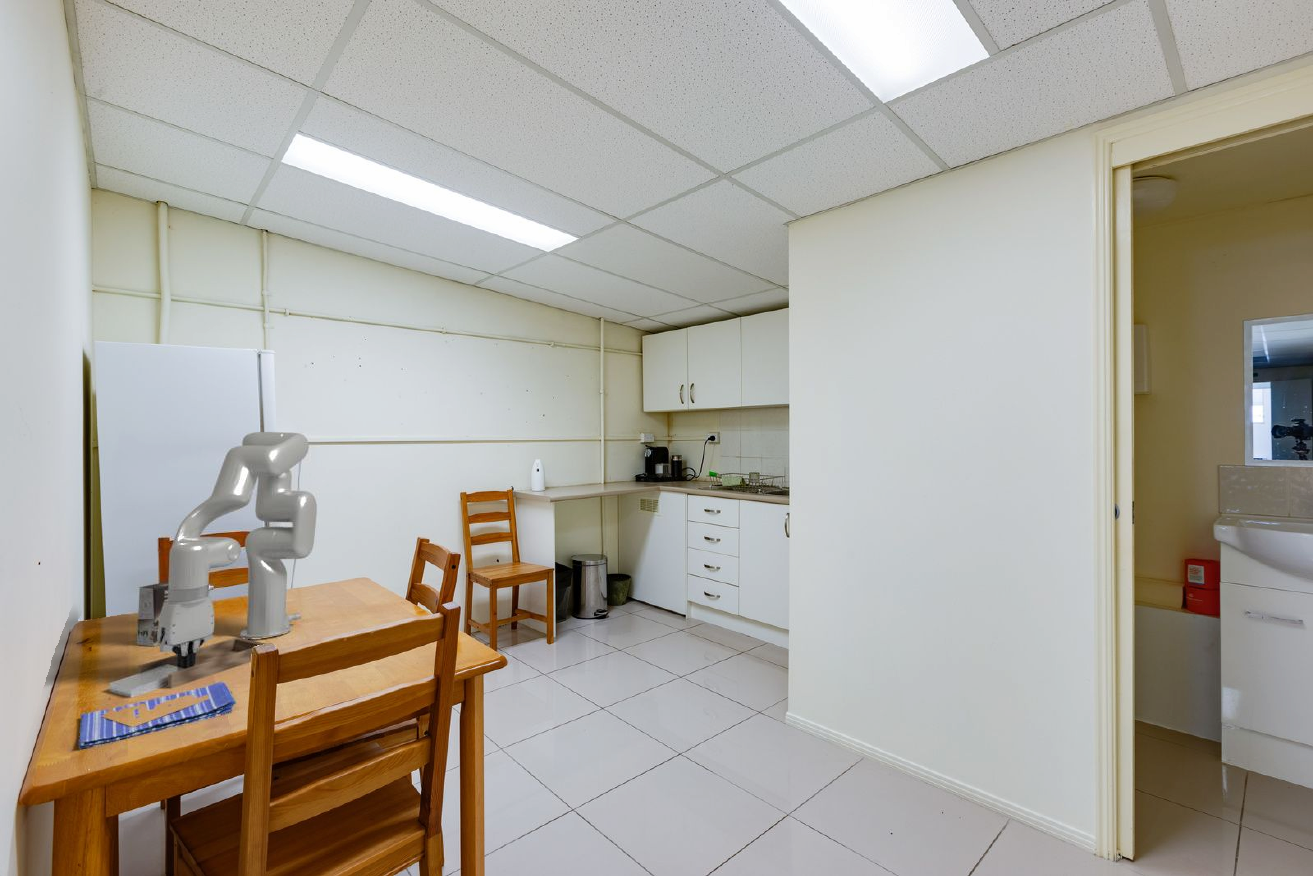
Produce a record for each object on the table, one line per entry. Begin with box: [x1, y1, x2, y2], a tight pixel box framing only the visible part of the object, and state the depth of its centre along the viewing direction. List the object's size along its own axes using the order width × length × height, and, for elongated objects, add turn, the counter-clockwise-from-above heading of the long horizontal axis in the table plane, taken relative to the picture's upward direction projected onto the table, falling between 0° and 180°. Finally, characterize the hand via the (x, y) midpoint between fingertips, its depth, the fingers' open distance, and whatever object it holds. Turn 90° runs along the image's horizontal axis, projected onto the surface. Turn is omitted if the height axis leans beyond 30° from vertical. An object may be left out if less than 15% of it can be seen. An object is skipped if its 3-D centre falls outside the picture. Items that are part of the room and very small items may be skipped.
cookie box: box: [136, 580, 169, 647], centre depth 161 cm, size 9×6×16 cm
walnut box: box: [137, 637, 267, 689], centre depth 141 cm, size 22×13×4 cm, turn 158°
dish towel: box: [78, 681, 237, 751], centre depth 117 cm, size 17×24×3 cm
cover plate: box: [109, 664, 184, 698], centre depth 130 cm, size 11×8×2 cm
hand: (186, 670), depth 137 cm, fingers closed
